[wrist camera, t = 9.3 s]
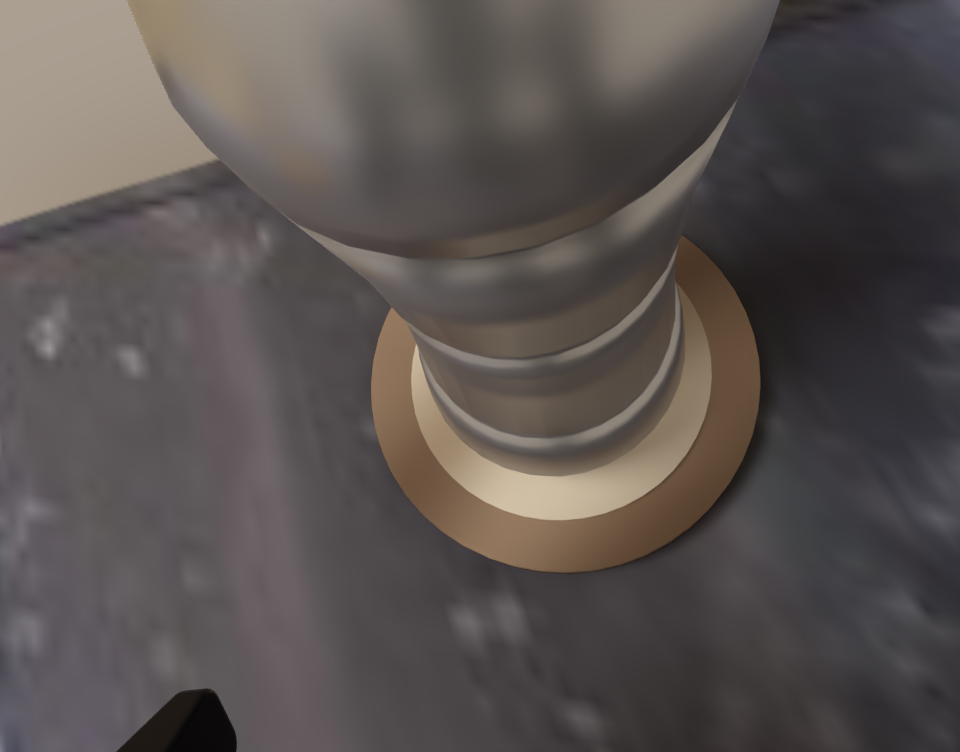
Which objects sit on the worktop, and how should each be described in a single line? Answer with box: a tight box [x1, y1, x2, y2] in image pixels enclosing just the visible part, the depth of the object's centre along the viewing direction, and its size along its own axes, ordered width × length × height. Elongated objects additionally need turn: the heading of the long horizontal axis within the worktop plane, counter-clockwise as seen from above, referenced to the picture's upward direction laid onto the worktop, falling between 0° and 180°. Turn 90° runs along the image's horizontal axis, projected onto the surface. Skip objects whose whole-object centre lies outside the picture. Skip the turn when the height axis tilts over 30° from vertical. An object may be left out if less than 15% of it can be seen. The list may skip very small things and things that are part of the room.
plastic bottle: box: [127, 0, 780, 477], centre depth 12 cm, size 6×7×20 cm
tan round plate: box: [371, 235, 761, 574], centre depth 22 cm, size 11×11×2 cm
